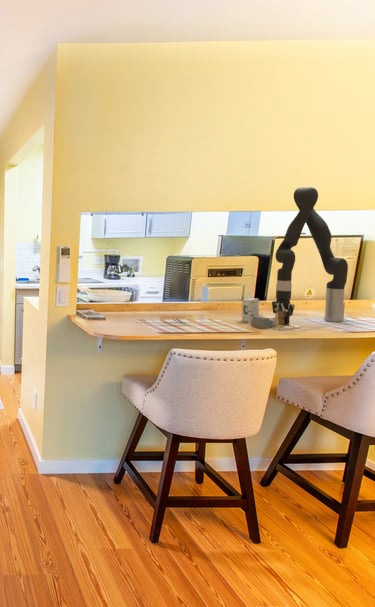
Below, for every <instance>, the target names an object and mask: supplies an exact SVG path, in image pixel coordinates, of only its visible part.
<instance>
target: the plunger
mask: <svg viewBox="0 0 375 607" xmlns="http://www.w3.org/2000/svg"><path fill="white" fill-rule="evenodd" d="M268 318H269V328H273V327H284V326H282V325H278V324H279V320H278V313H276V318H275V317H274V318H275V319H272V318H273V317H268Z"/></svg>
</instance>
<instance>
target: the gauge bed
mask: <svg viewBox="0 0 375 607" xmlns="http://www.w3.org/2000/svg"><path fill="white" fill-rule="evenodd" d="M269 318H270V317H265V316H261V315H259V316H253V320H251V323H250V326H252V327H253V328H258V329H262V330H266V329H267V330H268V329H270V326H269ZM271 318H272V319H275V317H271ZM271 328H272V330H274V331H278V332H280V331H287V330H295V329H296V330H297V329H303V326H301V325H297V324H291V325H290V324H289V325H287V326H284V327H279V326H278V327H271Z"/></svg>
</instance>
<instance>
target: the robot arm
mask: <svg viewBox="0 0 375 607" xmlns="http://www.w3.org/2000/svg"><path fill="white" fill-rule="evenodd" d="M318 200H319V193H318V190H317V189H316V188H315V187H312V186H307V187H306V186H305V187H304V186H303V187H298V188H296V189H295V191H293V201H294V203H295V205H296V207H297V209H298V210H299V211H298V213H297V214H296V216H295V217H294V218H293V220H292V221H291V222H290V224H289V225H288V226H287V229H286V232H285V234H284V237H283V240H282V242H280V245H279V246H278V248H277V250H276V251H275V261H276V262H278V263H280V264H282V266H281V267H280V268H278V269H277V275H276V276H277V277H276V285H275V286H276V287H275V299H276V300H273V301H272V302H271V307H272V312H273V314H276V311H280V310H283V312H285V314H284V315H285V318H284V324H288V323H289V324H290V321H289V316H290V317H292V316H293V314H294V309H295V305H296V304H294V303H293V304H292V303H291V301H290V300H291V299H292V286H293V285H292V284H293V283H292V276H293V275H292V272H293V270H294V266H295V263H296V254H295V252H294V250H292V248H293V247H296V246H297V245H298V243H299V240H300V237H301V234H302V231H303V229H304V227H305V225H306V226H307V227H308V230H309V233H310V235H311V237H312V239H313V241H314V243H315V246H316V248H317V251H318V253H319V256H320V258H321V263H322V266H323V268H324V271H325V272H326V273H327V275H330V276H331V275H332V276H333V277H332V279H331V280H330V281H328V282H326V286H325V287H326V288H325V290H326V291H325V307H324V309H325V310H324V320H325V321H327V322H333V323H334V322H335V323H341V322H343V321H344V320H345V319H344V318H345V287H346V284H347V281H348V280H347V279H348V271H349V265H348V261H347V260H346V259H345V258H342V257H335V255H334V253H333V250H332V249H331V244H332V233H331V230H330V228H329V225H328V224H327V222H326V221H325V219H323V217H322V216H320V214H318V212H317V211H316V210H315V205H316V204H317V202H318ZM286 312H287V313H286Z"/></svg>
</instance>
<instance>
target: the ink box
mask: <svg viewBox="0 0 375 607" xmlns="http://www.w3.org/2000/svg"><path fill="white" fill-rule="evenodd" d="M259 301H260V299H259V298H252V297H251V298H245V299H242V304H241V306H242V307H241V309H242V310H241V322H242V323H249V324H251V320H253V316H260V315H259V314H260V313H259V310H260V309H259V308H260V307H259V306H260V305H259V303H260V302H259Z"/></svg>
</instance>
